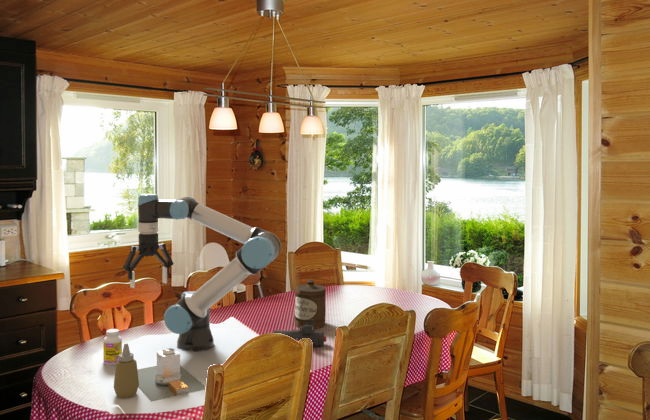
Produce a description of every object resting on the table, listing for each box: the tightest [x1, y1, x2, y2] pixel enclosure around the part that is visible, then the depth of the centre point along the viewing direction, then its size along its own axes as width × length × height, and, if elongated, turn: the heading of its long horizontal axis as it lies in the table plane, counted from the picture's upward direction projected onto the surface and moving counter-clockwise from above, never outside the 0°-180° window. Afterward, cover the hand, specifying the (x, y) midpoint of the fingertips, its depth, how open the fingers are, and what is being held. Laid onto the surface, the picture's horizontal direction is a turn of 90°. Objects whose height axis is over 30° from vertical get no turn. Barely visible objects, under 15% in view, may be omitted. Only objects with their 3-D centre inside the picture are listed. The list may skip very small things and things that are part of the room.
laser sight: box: [273, 319, 327, 347], centre depth 253 cm, size 10×22×10 cm, turn 86°
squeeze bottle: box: [113, 343, 139, 400], centre depth 195 cm, size 8×8×18 cm
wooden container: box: [294, 279, 327, 330], centre depth 282 cm, size 15×15×22 cm
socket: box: [156, 347, 181, 379], centre depth 207 cm, size 6×6×9 cm
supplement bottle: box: [103, 328, 123, 366], centre depth 225 cm, size 7×7×13 cm
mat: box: [137, 364, 206, 402], centre depth 209 cm, size 20×30×1 cm, turn 35°
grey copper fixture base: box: [155, 372, 189, 397], centre depth 203 cm, size 18×9×6 cm, turn 35°
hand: (148, 285), depth 234 cm, fingers open, 13 cm apart
